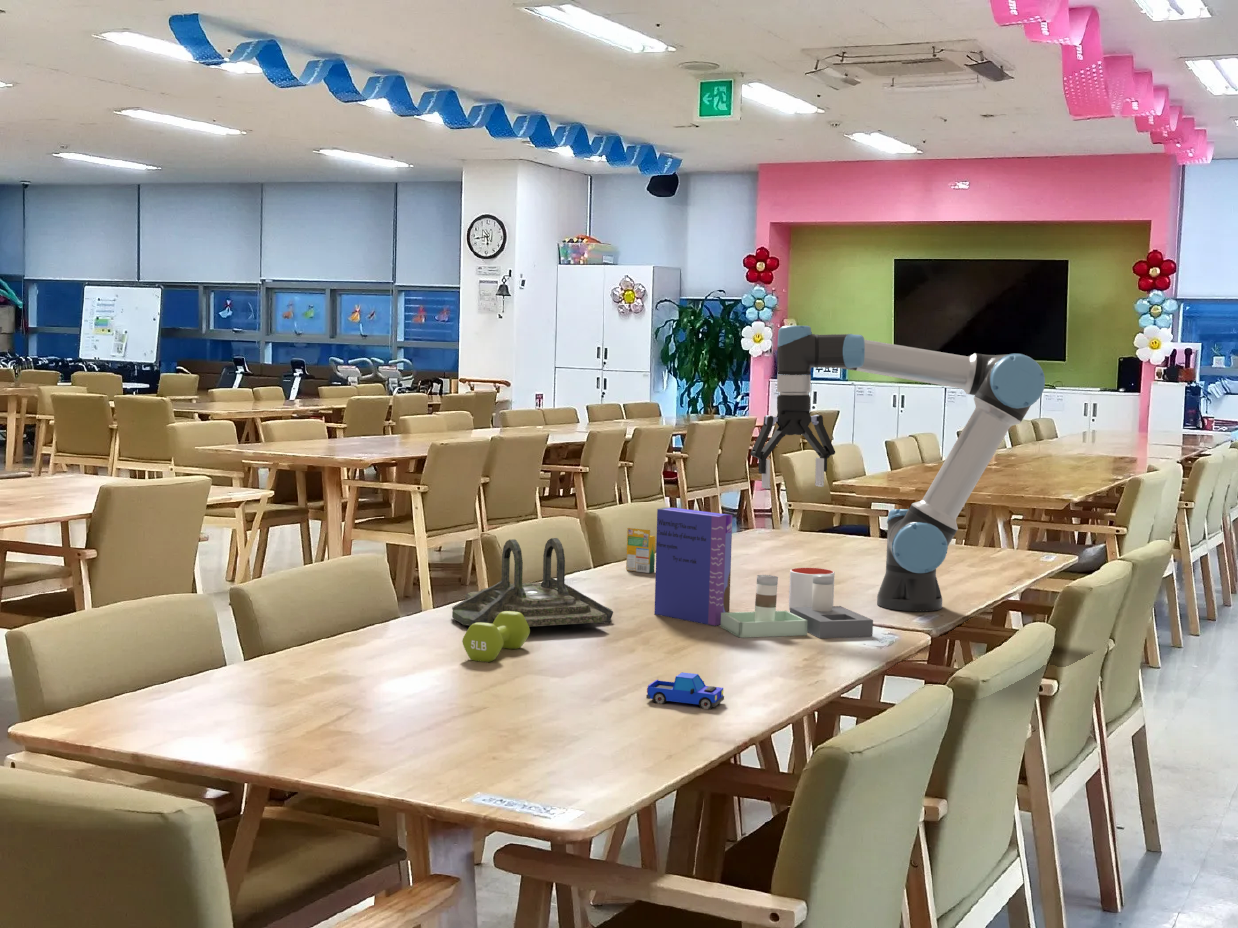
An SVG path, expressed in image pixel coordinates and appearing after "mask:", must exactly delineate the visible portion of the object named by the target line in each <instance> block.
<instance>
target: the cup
mask: <svg viewBox="0 0 1238 928" xmlns="http://www.w3.org/2000/svg"><path fill="white" fill-rule="evenodd" d="M814 574H829V575H833V576H834V577H835V571H833V570H831V569H827V568H819V567H795V568H792V569H789V591H788V593H789V594H788V611H790V607H812V591H813V575H814ZM834 593H835V582H834V583H833V603H832V606H834V599H835V598H834V597H835V594H834Z"/></svg>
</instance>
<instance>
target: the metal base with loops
mask: <svg viewBox="0 0 1238 928" xmlns="http://www.w3.org/2000/svg"><path fill="white" fill-rule="evenodd" d="M553 551H554V553H555V556H556V557H555V559H556V579H555V578H553V577H552V557H553ZM511 554H513V560H514V561H513V562H514V574H513V575H514V577H513V578H514V579H513V583H511V582H510V565H511V564H510V563H511ZM542 558H543V559H542V560H543V561H542V564H543V565H542V568H543V569H542V581H541V582H538V581H537V582H523V570H524V569H523V568H524V567H523V566H524V565H523V560H524V559H523V555H522V549H521V546H520V544H519V542H518V541H517V540H516V539H515V538H514V539H508V540H506V541H505V543H504V545H503V548H502V555H501V580H500V581H499V582H497V583H496V584H493V585H492V586H489V587H486V588H483V589H480V590H477V591H476V590H475V591H470V592H467V593H466V594H464V600H462V601H461V602H459V603H457V604H456V605H454V606H452V607H451V610H452V612H451V615H452V616H451V617H452V619H453V620H455V621H457V622H458V623H460V624H462V625H463V626H471V625H472V624H474V623H478V622H482V623H491V624H493V622H494V620H495V618H496V617H497V615H498V614H499V613H501V612H503V611H514V612H520V613H522V614H523V616H524V618H525V619H526V621H527V624H528V626H529V628H530V627H545V626H559V625H560V626H561V625H579V624H592V623H593V624H594V623H601V624H610V623H611V620H612V617H613V615H614V611H613V610H612V609H611V608H609V607H607V606H604V605H603V604H601V603H600V602H598V601H596V600H594V599H593V598H591V597H590V596H587V595H586V594H583V593H582V592H580V591H579V590H577V589H575V588H573V587H572V586H570V585H568V584H566V583H565V580H566V578H565V577H566V575H565V573H566V560H565V559H566V556H565V549H564V546H563V544H562V542H561V540H560V539H559V538H558V537H552V538H549V539H548V540H547V542H546V543H545V545H544V551H543V557H542Z"/></svg>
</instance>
